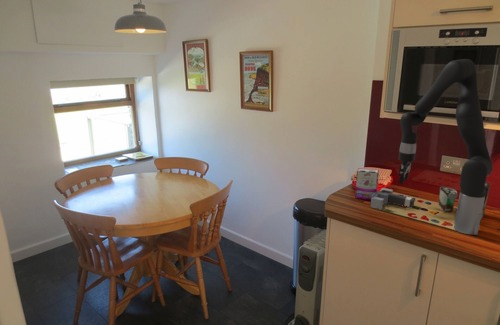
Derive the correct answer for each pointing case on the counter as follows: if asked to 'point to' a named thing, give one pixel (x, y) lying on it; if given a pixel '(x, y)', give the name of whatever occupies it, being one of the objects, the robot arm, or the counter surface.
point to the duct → (380, 198)
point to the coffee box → (487, 186)
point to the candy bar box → (366, 183)
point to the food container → (447, 198)
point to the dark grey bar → (400, 200)
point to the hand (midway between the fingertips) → (403, 181)
